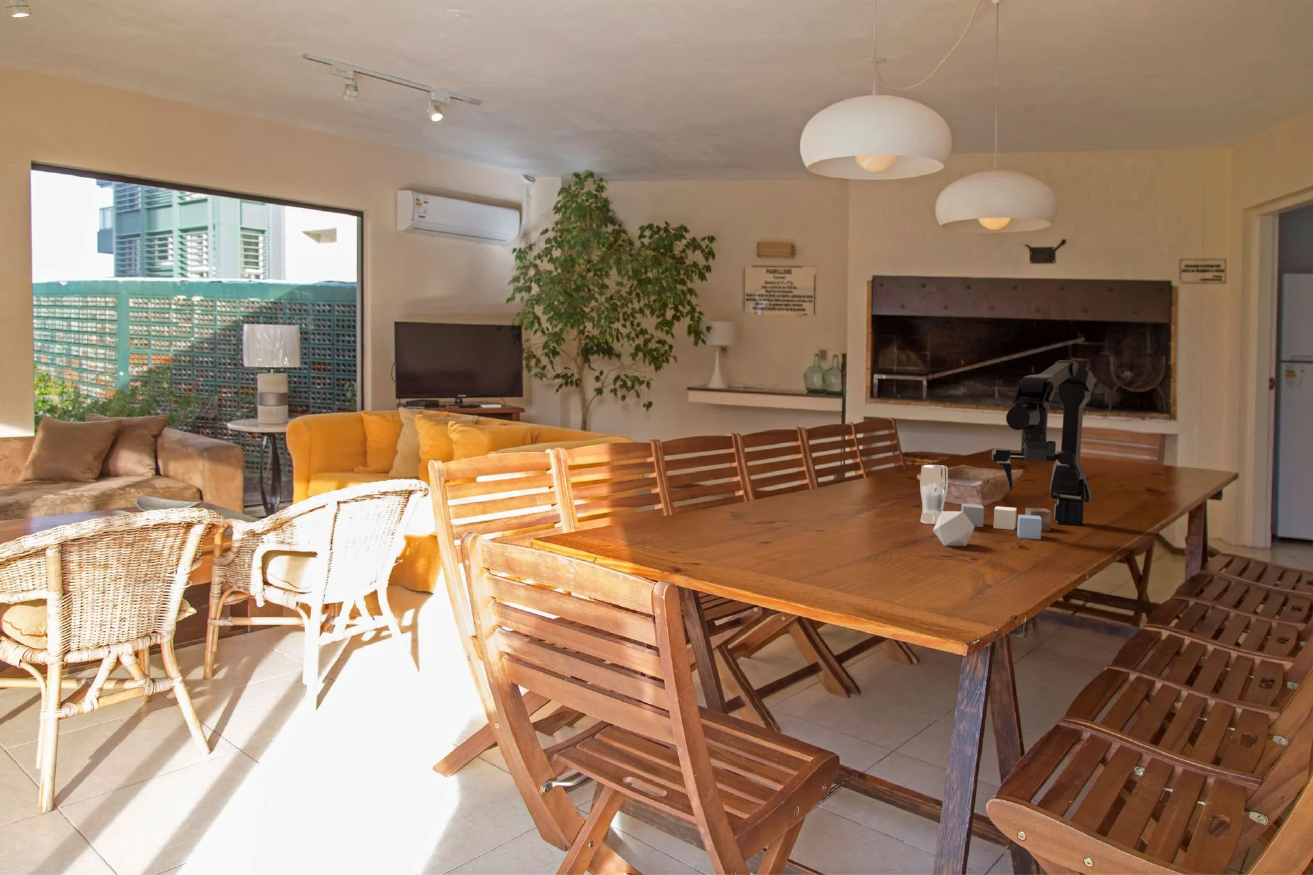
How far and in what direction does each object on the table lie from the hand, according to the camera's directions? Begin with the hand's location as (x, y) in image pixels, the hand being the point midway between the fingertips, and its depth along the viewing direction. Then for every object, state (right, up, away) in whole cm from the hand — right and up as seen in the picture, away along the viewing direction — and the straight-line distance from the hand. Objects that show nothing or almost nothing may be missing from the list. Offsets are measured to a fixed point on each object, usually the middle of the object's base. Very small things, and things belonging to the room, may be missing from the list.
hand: (1031, 491), depth 233 cm
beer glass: (-19, -9, +18) cm, 28 cm away
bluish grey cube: (0, -11, +1) cm, 11 cm away
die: (-22, -12, -10) cm, 27 cm away
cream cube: (-2, -10, +13) cm, 16 cm away
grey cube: (-9, -10, +16) cm, 21 cm away
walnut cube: (+6, -10, +12) cm, 17 cm away
